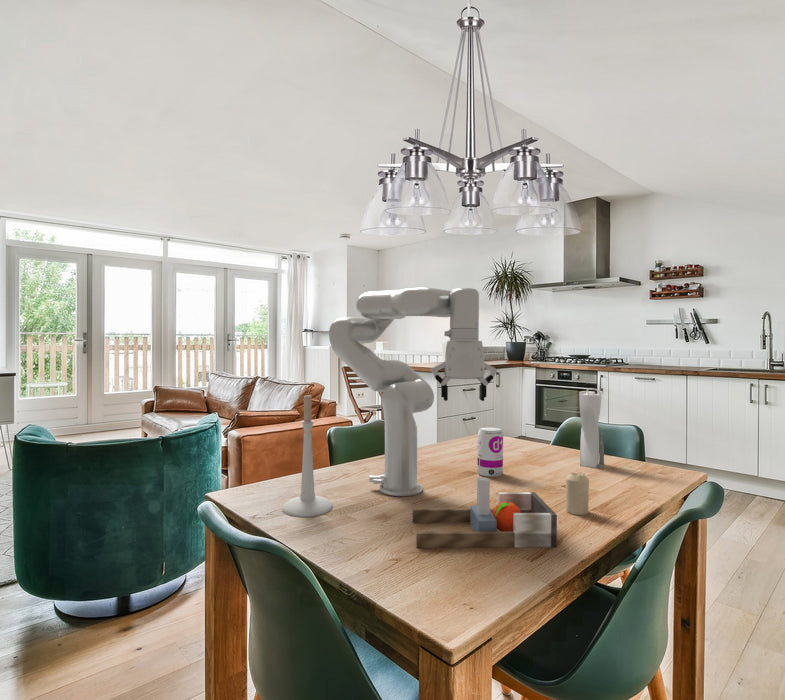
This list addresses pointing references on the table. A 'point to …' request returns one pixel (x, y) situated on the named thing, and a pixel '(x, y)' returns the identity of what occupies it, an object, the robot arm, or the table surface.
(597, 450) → the skyscraper
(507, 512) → the clementine
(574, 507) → the candle
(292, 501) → the candlestick
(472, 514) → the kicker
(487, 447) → the supplement can
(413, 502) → the table surface
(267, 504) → the table surface
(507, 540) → the frame
